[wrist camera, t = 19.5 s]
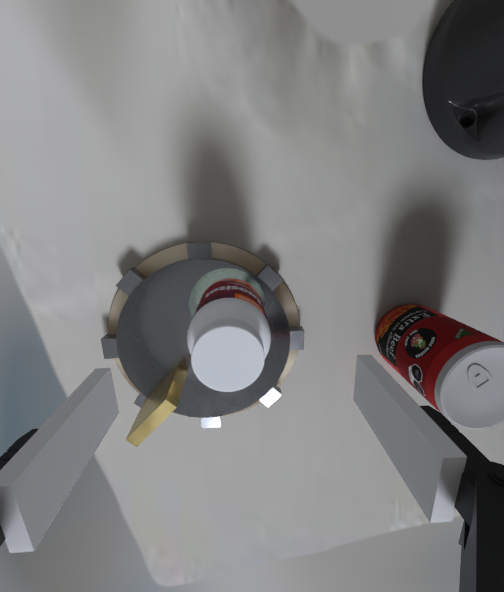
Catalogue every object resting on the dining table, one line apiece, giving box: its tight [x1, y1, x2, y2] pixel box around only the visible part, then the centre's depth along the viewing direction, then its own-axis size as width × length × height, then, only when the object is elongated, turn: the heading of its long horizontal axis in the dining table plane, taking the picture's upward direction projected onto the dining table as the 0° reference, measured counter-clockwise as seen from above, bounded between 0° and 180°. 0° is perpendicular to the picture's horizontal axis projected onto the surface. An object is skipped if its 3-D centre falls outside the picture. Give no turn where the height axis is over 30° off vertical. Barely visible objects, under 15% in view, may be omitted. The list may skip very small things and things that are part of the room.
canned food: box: [376, 304, 504, 429], centre depth 27 cm, size 8×8×11 cm
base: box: [108, 242, 300, 418], centre depth 31 cm, size 21×21×1 cm
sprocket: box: [101, 242, 304, 447], centre depth 27 cm, size 21×21×8 cm
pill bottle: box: [187, 278, 271, 392], centre depth 23 cm, size 6×6×11 cm
